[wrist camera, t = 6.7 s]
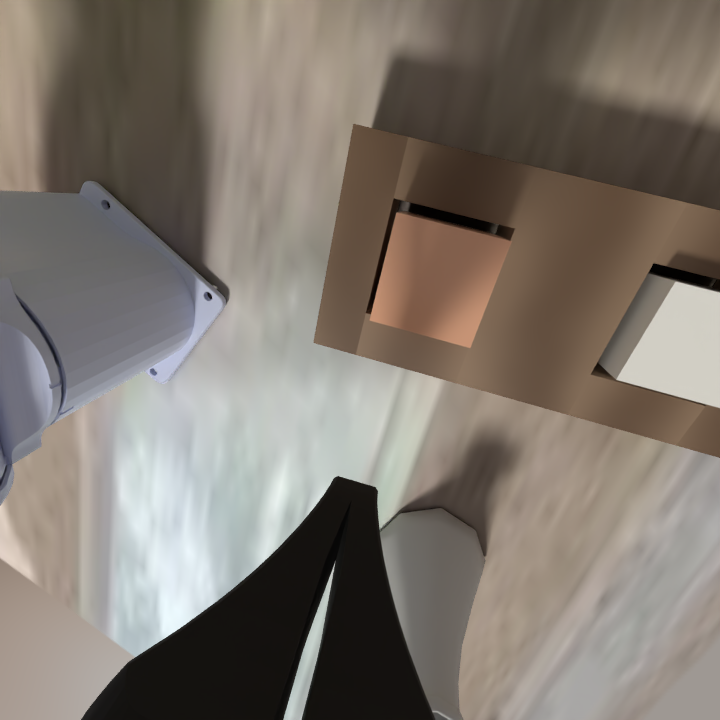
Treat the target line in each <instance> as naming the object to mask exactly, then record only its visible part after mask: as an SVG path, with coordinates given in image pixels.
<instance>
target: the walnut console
mask: <svg viewBox="0 0 720 720" xmlns="http://www.w3.org/2000/svg"><path fill="white" fill-rule="evenodd" d="M400 200H403V201H407V202H411V203H415V204H419V205H423V206H427V207H431V208H435V209H439V210H443V211H447V212H451V213H455V214H459V215H463V216H467V217H471V218H475V219H479V220H483V221H487V222H491V223H495V224H499V226H498V229H497V231H496V235H498V236H500V237H503V238H505V239H507V240H510V241H512V242H511V245H510V247H509V250H508V253H507V255H506V258H505V260H504V263H503V265H502V268H501V271H500V273H499V276H498V278H497V281H496V283H495V286H494V288H493V291H492V294H491V296H490V299H489V301H488V304H487V306H486V309H485V312H484V314H483V317H482V319H481V322H480V324H479V327H478V330H477V332H476V335H475V337H474V340H473V342H472V345H471V347H470V348H468V347H464V346H461V345H457V344H453V343H450V342H446V341H442V340H439V339H435V338H431V337H428V336H424V335H421V334H417V333H413V332H410V331H406V330H402V329H399V328H395V327H391V326H388V325H384V324H381V323H377V322H373V321H370V316H371V312H372V308H373V304H374V300H375V296H376V292H377V288H378V284H379V280H380V276H381V272H382V268H383V264H384V260H385V256H386V252H387V248H388V244H389V240H390V236H391V232H392V228H393V224H394V220H395V216H396V212H397V211H398V207H399V203H400ZM653 263H655V264H659V265H663V266H668V267H672V268H676V269H680V270H684V271H688V272H692V273H696V274H700V275H704V276H708V277H712V278H716V279H718V280H717V281H716V283H715V284H714V286H713V287H712V288H715V289H718V290H720V210H716V209H712V208H707V207H703V206H699V205H695V204H691V203H686V202H682V201H678V200H674V199H669V198H665V197H661V196H657V195H652V194H648V193H644V192H640V191H636V190H631V189H627V188H623V187H619V186H614V185H610V184H606V183H602V182H597V181H593V180H589V179H585V178H580V177H576V176H572V175H568V174H564V173H559V172H555V171H551V170H547V169H542V168H538V167H534V166H530V165H525V164H521V163H517V162H513V161H509V160H504V159H500V158H496V157H492V156H487V155H483V154H479V153H475V152H470V151H466V150H462V149H458V148H454V147H449V146H445V145H441V144H437V143H432V142H428V141H424V140H420V139H415V138H411V137H407V136H403V135H398V134H394V133H390V132H386V131H382V130H377V129H373V128H369V127H365V126H360V125H356V124H353V129H352V135H351V140H350V146H349V151H348V157H347V162H346V168H345V173H344V179H343V184H342V190H341V195H340V201H339V206H338V211H337V217H336V222H335V228H334V233H333V239H332V244H331V250H330V255H329V261H328V266H327V272H326V277H325V283H324V288H323V293H322V299H321V304H320V310H319V315H318V321H317V326H316V332H315V337H314V343H316V344H320V345H323V346H327V347H330V348H334V349H337V350H341V351H344V352H348V353H351V354H355V355H359V356H362V357H366V358H369V359H373V360H376V361H380V362H383V363H387V364H390V365H394V366H397V367H401V368H404V369H408V370H412V371H415V372H419V373H422V374H426V375H429V376H433V377H436V378H440V379H443V380H447V381H450V382H454V383H458V384H461V385H465V386H468V387H472V388H475V389H479V390H482V391H486V392H489V393H493V394H496V395H500V396H503V397H507V398H511V399H514V400H518V401H521V402H525V403H528V404H532V405H535V406H539V407H542V408H546V409H549V410H553V411H556V412H560V413H564V414H567V415H571V416H574V417H578V418H581V419H585V420H588V421H592V422H595V423H599V424H602V425H606V426H609V427H613V428H617V429H620V430H624V431H627V432H631V433H634V434H638V435H641V436H645V437H648V438H652V439H655V440H659V441H662V442H666V443H670V444H673V445H677V446H680V447H684V448H687V449H691V450H694V451H698V452H701V453H705V454H708V455H712V456H715V457H719V458H720V408H718V407H714V406H710V405H707V404H703V403H699V402H696V401H692V400H688V399H685V398H681V397H678V396H674V395H670V394H667V393H663V392H659V391H656V390H652V389H648V388H645V387H641V386H637V385H634V384H630V383H626V382H623V381H619V380H616V379H615V378H614V377H613V376H612V375H610V374H609V373H608V372H607V371H606V370H605V369H604V368H603V367H602V366H601V365H600V364H599V363H598V360H599V359H600V357H601V355H602V353H603V352H604V350H605V348H606V346H607V344H608V343H609V341H610V339H611V337H612V336H613V334H614V332H615V330H616V329H617V327H618V325H619V323H620V322H621V320H622V318H623V316H624V315H625V313H626V311H627V309H628V307H629V306H630V304H631V302H632V300H633V299H634V297H635V295H636V293H637V292H638V290H639V288H640V286H641V285H642V283H643V281H644V279H645V278H646V276H647V274H648V272H649V270H650V269H651V267H652V265H653Z"/></svg>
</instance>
